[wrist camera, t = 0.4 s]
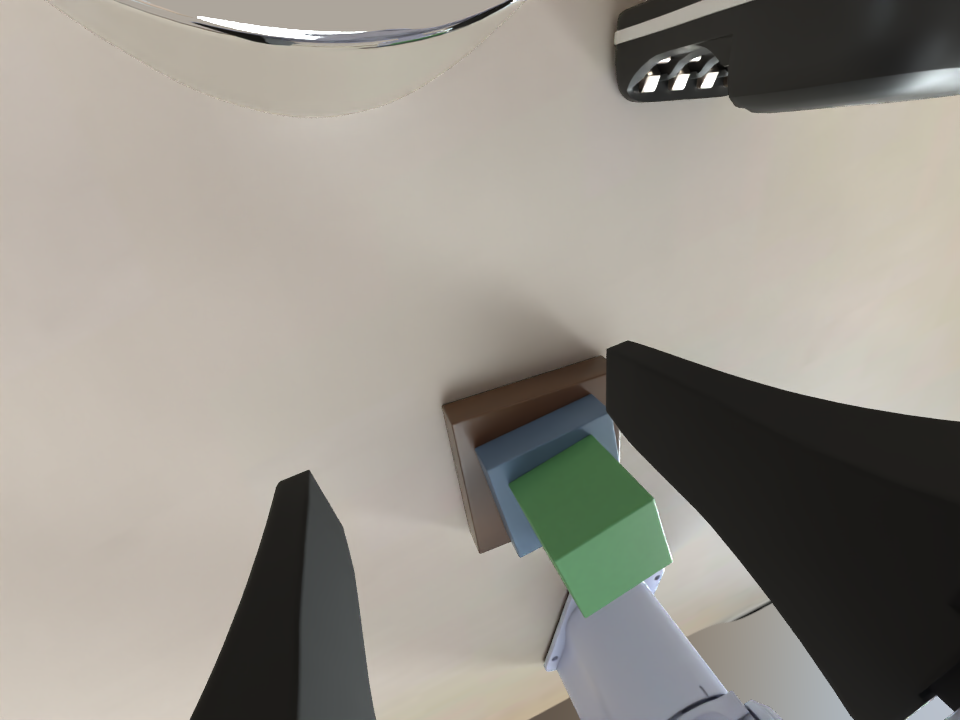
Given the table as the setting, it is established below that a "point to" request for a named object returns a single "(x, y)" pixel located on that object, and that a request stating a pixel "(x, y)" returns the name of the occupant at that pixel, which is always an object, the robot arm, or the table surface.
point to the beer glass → (295, 46)
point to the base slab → (502, 414)
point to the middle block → (539, 457)
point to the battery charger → (789, 52)
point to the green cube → (593, 523)
